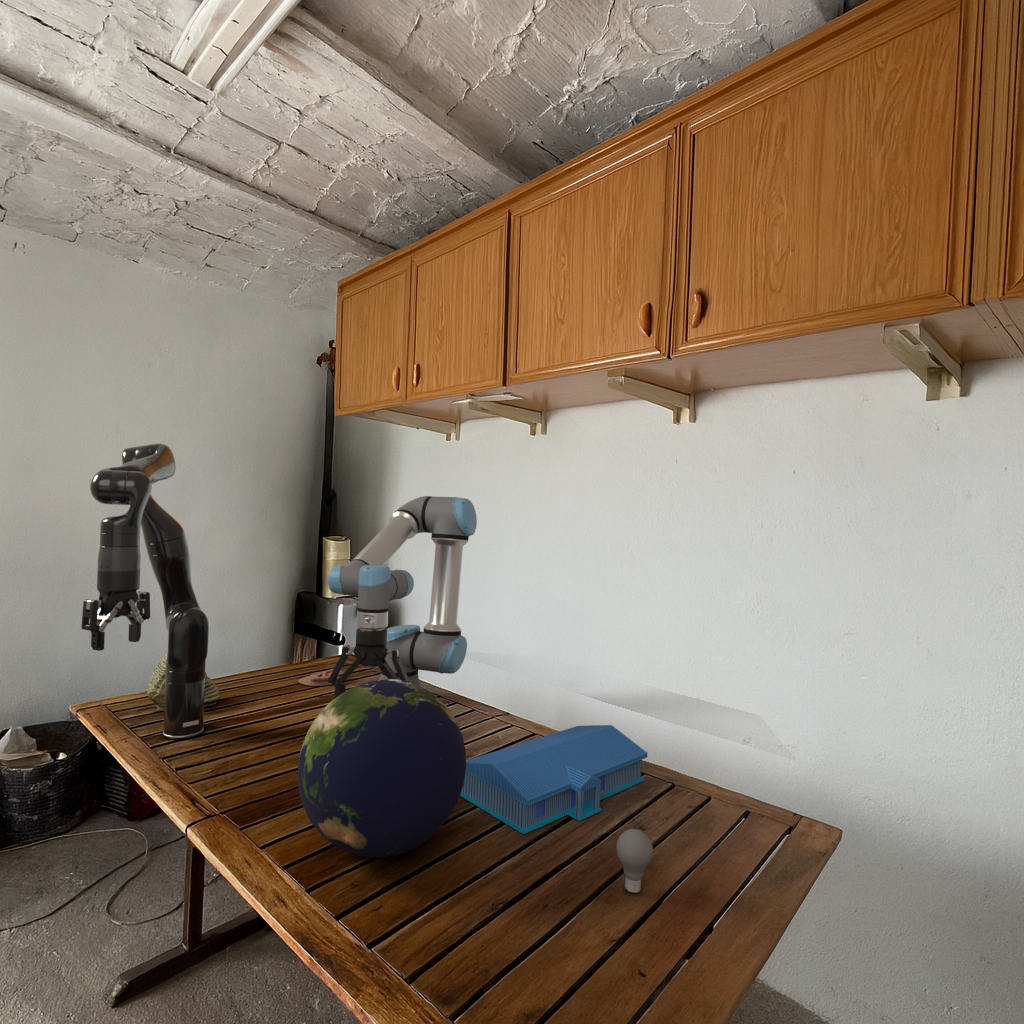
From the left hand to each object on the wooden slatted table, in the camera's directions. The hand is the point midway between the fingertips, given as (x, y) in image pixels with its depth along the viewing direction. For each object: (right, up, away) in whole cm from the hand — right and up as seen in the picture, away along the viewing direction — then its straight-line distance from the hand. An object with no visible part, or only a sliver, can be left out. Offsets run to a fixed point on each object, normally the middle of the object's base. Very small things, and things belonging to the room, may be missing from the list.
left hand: (116, 645), depth 131 cm
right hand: (+46, -22, +25) cm, 57 cm away
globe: (+58, -34, -15) cm, 68 cm away
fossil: (-14, -29, +54) cm, 63 cm away
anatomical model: (+17, -30, +84) cm, 91 cm away
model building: (+92, -35, +11) cm, 99 cm away
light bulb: (+102, -36, -25) cm, 111 cm away
